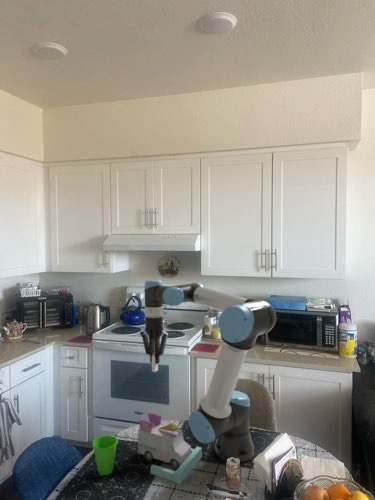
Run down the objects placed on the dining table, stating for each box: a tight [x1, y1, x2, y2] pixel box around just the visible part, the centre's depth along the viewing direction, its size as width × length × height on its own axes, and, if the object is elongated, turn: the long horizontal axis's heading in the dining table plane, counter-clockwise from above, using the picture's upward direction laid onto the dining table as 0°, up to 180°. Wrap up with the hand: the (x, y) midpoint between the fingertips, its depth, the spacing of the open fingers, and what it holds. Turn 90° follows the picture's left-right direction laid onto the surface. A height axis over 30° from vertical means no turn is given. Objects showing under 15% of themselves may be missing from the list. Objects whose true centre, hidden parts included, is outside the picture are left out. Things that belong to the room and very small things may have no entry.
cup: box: [91, 434, 119, 476], centre depth 135 cm, size 9×9×11 cm
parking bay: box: [150, 446, 203, 485], centre depth 139 cm, size 12×18×4 cm, turn 153°
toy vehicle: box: [136, 412, 192, 470], centre depth 142 cm, size 9×20×15 cm, turn 63°
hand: (155, 370), depth 162 cm, fingers closed
